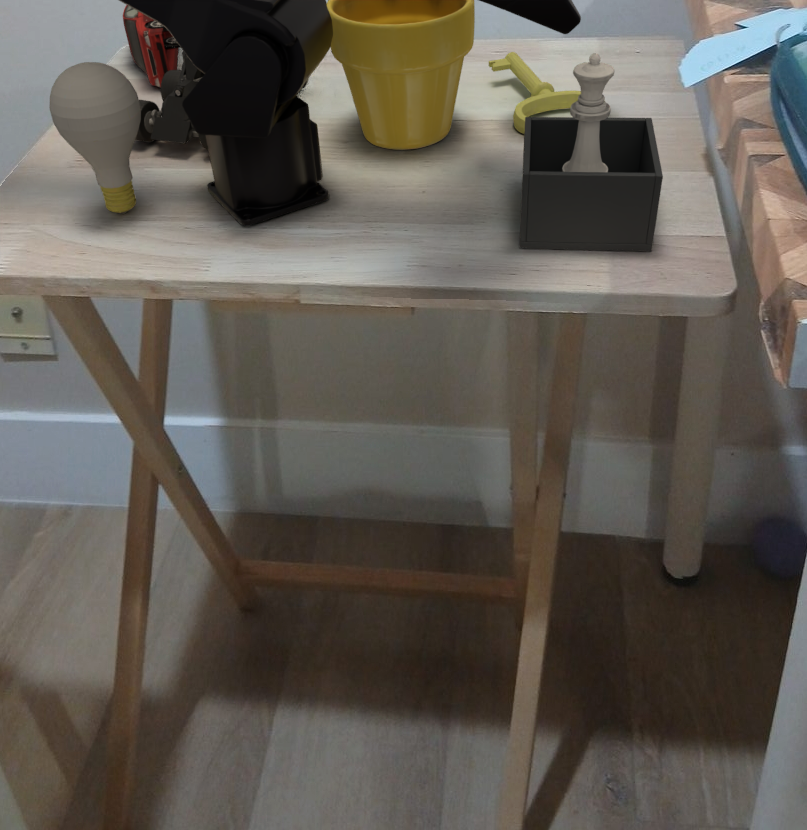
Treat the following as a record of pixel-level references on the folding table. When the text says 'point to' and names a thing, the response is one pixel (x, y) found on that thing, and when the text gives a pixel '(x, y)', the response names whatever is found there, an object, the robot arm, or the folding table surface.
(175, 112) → the toy vehicle
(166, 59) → the toy car
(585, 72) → the chess piece
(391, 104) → the flower pot
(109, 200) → the light bulb
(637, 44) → the folding table surface
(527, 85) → the key
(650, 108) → the folding table surface
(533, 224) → the bin
